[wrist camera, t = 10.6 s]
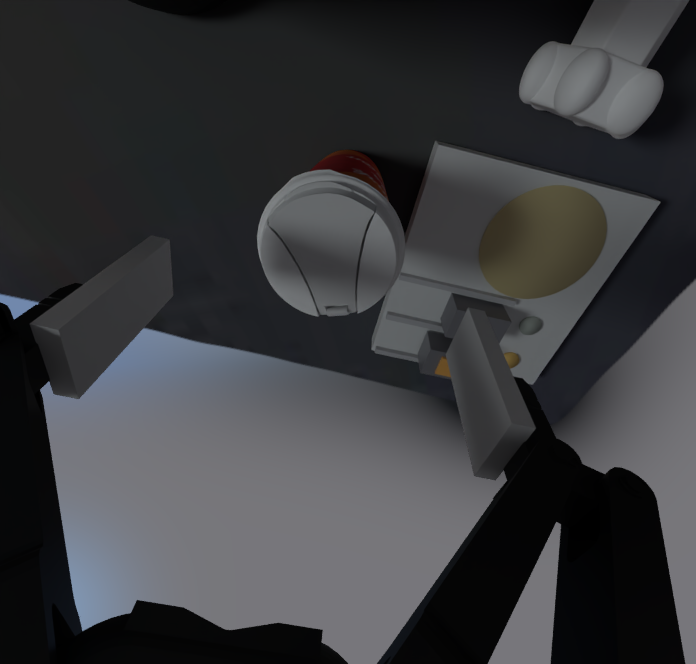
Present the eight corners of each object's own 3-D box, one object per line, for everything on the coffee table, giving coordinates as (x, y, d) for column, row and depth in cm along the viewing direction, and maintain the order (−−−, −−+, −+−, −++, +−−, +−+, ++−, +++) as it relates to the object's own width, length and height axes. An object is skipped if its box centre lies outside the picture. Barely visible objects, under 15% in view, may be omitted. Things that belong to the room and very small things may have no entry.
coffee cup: (399, 228, 34) (410, 320, 21) (309, 238, 35) (272, 331, 23) (392, 124, 29) (402, 164, 17) (289, 139, 30) (228, 188, 18)
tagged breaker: (417, 353, 39) (420, 374, 36) (427, 330, 37) (430, 351, 34) (463, 363, 39) (469, 385, 36) (475, 341, 37) (482, 362, 35)
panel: (371, 338, 41) (371, 368, 37) (435, 140, 29) (444, 152, 25) (526, 372, 42) (542, 404, 38) (645, 194, 31) (686, 214, 27)
